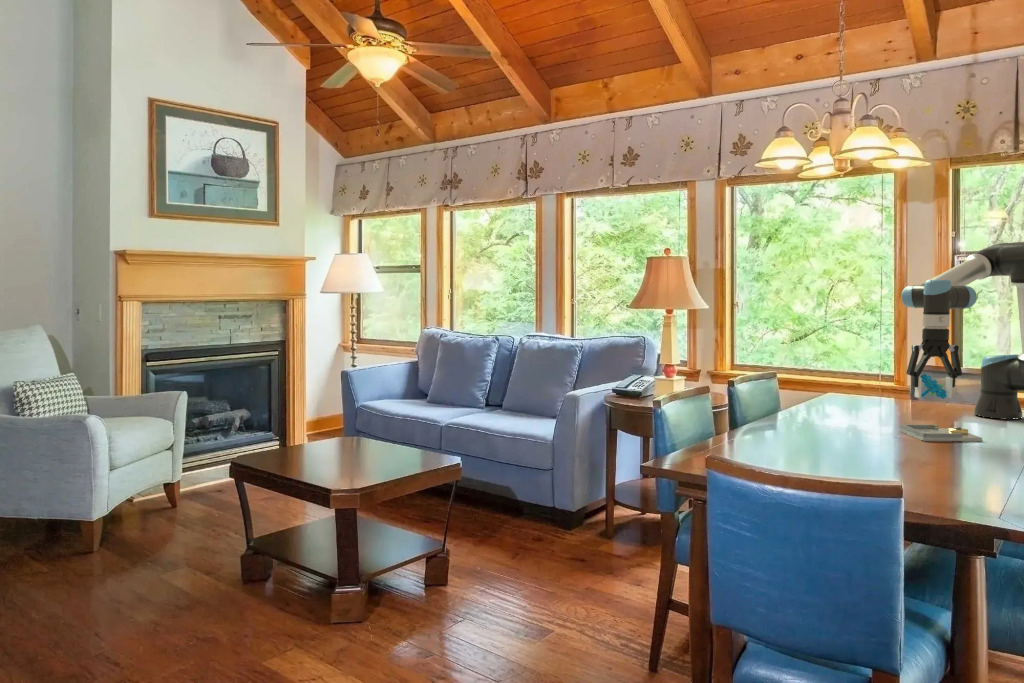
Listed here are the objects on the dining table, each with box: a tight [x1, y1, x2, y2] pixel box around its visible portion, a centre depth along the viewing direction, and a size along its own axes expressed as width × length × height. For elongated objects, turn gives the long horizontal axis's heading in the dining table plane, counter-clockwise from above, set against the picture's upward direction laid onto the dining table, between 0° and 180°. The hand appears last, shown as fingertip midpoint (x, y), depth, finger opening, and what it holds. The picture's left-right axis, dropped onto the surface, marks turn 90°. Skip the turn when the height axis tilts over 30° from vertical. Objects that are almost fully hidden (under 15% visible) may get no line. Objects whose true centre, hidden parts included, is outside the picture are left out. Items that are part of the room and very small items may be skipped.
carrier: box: [899, 423, 983, 443], centre depth 246 cm, size 18×16×3 cm
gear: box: [919, 373, 947, 400], centre depth 247 cm, size 11×6×10 cm
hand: (933, 397), depth 245 cm, fingers closed on gear, 9 cm apart
